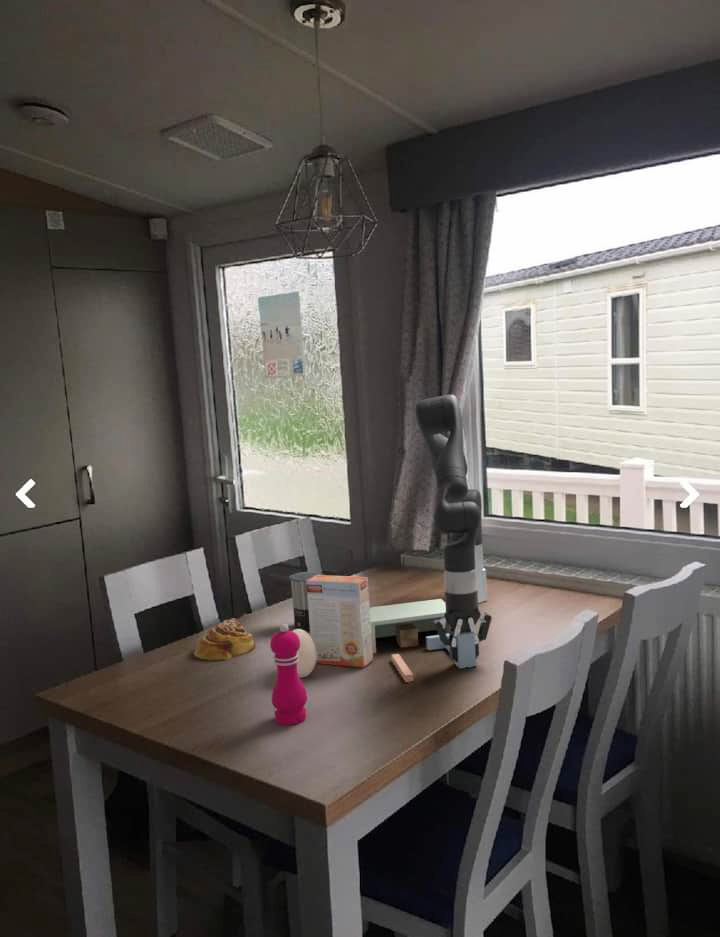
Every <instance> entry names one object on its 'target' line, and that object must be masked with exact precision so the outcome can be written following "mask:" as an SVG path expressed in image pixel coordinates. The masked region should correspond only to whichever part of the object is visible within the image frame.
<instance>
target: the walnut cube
mask: <svg viewBox="0 0 720 937" xmlns="http://www.w3.org/2000/svg"><path fill="white" fill-rule="evenodd" d="M395 636H396V643H397V645H398V646H399V645H400V646H399V648H402V647H404V648H410V647H409V646H411V647H416V646H415V645H419V632H418V628H417V627H416V626H415V625H414V624H413V623H412V624H404V625H396V635H395ZM402 649H403V648H402Z"/></svg>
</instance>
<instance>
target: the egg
mask: <svg viewBox="0 0 720 937" xmlns="http://www.w3.org/2000/svg"><path fill="white" fill-rule="evenodd" d="M291 631H292V632H294V633H296V634H297V635H298V637H299V639H300V648H299V650H298V651H297V653H298V654H299V656H298V658H299V661H298V662H297V673H298V676H299V678H300V679H302V678H305V677H307V676H309V675H310V674H311V673H312V672H313V670H314V669H315V666H316V664H317V663H316V659H317V653H316V647H315V644H314V642H313V640H312V638H311V636H310V633H308V632H306V631H304V630H302V629H293V630H291Z"/></svg>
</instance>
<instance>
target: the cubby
mask: <svg viewBox="0 0 720 937" xmlns="http://www.w3.org/2000/svg"><path fill="white" fill-rule="evenodd" d="M445 612H446V606H445V600H443V599H442V598H435V599H428V600H421V601H412V602H403V603H395V604H390V605H389V604H388V605H378V606H373V607H372V606H371V607H370V620H371V634H372V649H373V654H376V653H377V646H376V644H377V643H376V642H377V641H376V639H377V638H387V637H391V636H392V637H393V636H396V625H404V624H412V623H413V624H414V625H415V626H416V627H417V628H418V633H422V632H424V633H425V632H431V630H432V631H437V630H436V627H435V625H434V620H435V619H437V620H439V619H441V618H443V617H444V615H445ZM443 629H444V631H445V634H450V633H449V631H450V625H449V624H448V623H447V622H446V623H445V628H443Z"/></svg>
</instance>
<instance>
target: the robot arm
mask: <svg viewBox="0 0 720 937" xmlns="http://www.w3.org/2000/svg"><path fill="white" fill-rule="evenodd" d="M415 416H416V421H417V424H418V427H419V430H420V433H421V435H422V437H423V440H424V441H425V445H426V447H427V451H428V455H429V458H430V462H431V467H432V468H433V469H432V470H433V473H434V476H435V479H436V487H437V503H436V506H435V511H434V515H433V516H434V517H433V523H434V527H435V528H436V530H437V531H438V533H441V534H442V535H443V534H444V535H448V534H449V535H450V543H448V544H446V545H445V546H444V548H443V561H444V563H443V564H444V575H443V583H444V587H443V588H444V599H445V600H444V602H445V606H446V612H445V615H444V617H443V618H441V619H439V620H437V619H435V620H434V625H435V627H436V630H435V631H436V632H437V635H439V637H440V640H441V642H442V643H444V645H446V646H447V645H449V648H450V652H449V657H450V659H451V660H452V661H453V663H454V662H458V652H457V646H456V645H457V635H459V634H460V632H463V631H471V633H474V635H475V655H476V660H477V659H478V657H479V655H480V651H479V650H480V649H479V647H480V642H482V641H486V639H487V637H488V633H489V630H490V626H491V622H492V616H491V614H489V613H488V612H484V613H482V612H481V611H480V610H479V604H480V603H484V602H487V601H488V586H487V585H488V584H487V583H488V582H487V569H486V568H485V567H484V554H483V552H484V550H483V548H484V547H483V530H482V526H483V525H482V512H483V511H482V507H483V506H482V495H481V492H480V491H479V490H478V489H471V488H470V489H469V488H468V487H469V486H468V480H467V475H468V463H467V458H466V454H465V451H464V429H463V416H462V410H461V407H460V403H459V400H458V398H457V396H456V395H455V394H444V395H441V396H434V397H430V398H425V399H422V400H420V401H418V402H417V404H416V407H415ZM448 432H449V435H448V437H446V436H445V435H443V434H445V433H448ZM446 622H447V623H448V624H449V625H450V631H449V633H450V635H449V639H448V638H447V636H446V634H445V631H444V629H443V628H445V623H446ZM477 622H480V624H479V625H480V626H479V628H478V632H477V629H476V625H477Z"/></svg>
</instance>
